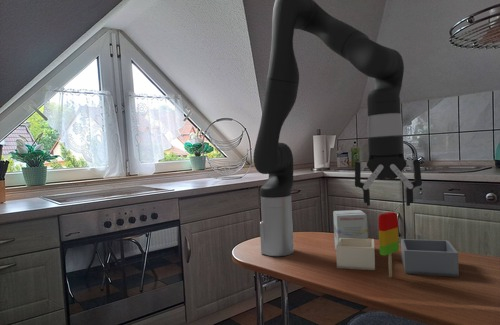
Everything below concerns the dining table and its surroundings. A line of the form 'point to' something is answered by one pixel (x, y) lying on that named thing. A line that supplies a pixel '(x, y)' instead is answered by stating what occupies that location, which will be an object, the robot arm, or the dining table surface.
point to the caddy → (429, 257)
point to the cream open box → (355, 253)
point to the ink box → (350, 225)
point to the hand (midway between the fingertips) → (388, 205)
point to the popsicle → (388, 236)
